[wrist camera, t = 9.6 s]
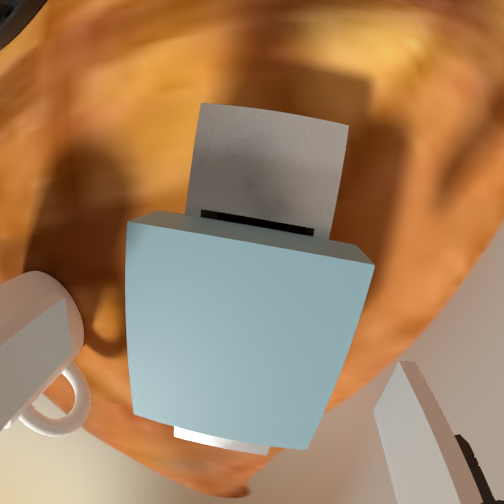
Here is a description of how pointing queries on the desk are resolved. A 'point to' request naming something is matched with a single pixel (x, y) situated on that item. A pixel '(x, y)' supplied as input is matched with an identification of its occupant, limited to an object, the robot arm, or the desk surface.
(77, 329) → the mug
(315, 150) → the grey block with holes
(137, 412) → the pale blue memo pad
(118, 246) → the desk surface
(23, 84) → the desk surface
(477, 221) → the desk surface
